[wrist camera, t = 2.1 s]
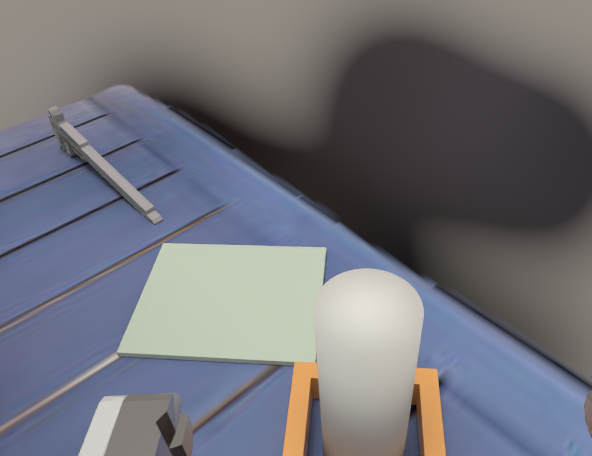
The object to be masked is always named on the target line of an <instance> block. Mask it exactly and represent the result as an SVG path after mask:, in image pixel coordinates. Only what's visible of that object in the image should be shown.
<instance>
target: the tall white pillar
mask: <svg viewBox="0 0 592 456" xmlns="http://www.w3.org/2000/svg"><path fill="white" fill-rule="evenodd" d="M313 312H314V326H315V340H316V355H317V369H318V383H319V397H320V411H321V425H322V440H323V454H324V456H404V450H405V443H406V436H407V429H408V423H409V416H410V409H411V402H412V395H413V388H414V381H415V374H416V367H417V360H418V353H419V346H420V339H421V332H422V325H423V318H424V309H423V304H422V301H421V298H420V297H419V295H418V293H417V292H416V290H415V289H414V288H413V287H412V286H411V285H410V284H409V283H408V282H406V281H405V280H404V279H402V278H400V277H398V276H396V275H394V274H392V273H389V272H386V271H382V270H377V269H355V270H350V271H347V272H343V273H341V274H339V275H336V276H335V277H333V278H331V279H330V280H329V281H327V282H326V283H325V284H324V285H323V286H322V287H321V289H320V290H319V292H318V293H317V295H316V298H315V301H314V309H313Z"/></svg>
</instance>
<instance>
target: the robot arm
mask: <svg viewBox="0 0 592 456" xmlns="http://www.w3.org/2000/svg"><path fill="white" fill-rule="evenodd" d="M591 380H592V378H591ZM181 408H182V401H181V399H180V397H179V395H178V393H170V394H143V395H118V396H104V398H103V399H102V400H101V401H100V403H99V404H98V406H97V409H96V411H95V414H94V416H93V419H92V421H91V424H90V427H89V429H88V432H87V434H86V437H85V439H84V442H83V444H82V447H81V449H80V452H79V455H78V456H191V454H192V446H193V432H192V426H191V422H190V420H189V417H188V416H187V415H185V414H184V413H182V412H181ZM584 410H585V420H586V423H587V427H588V430H589V433H590V435H591V437H592V391H591V392H589V393H588V394H587V395H586V400H585V404H584Z"/></svg>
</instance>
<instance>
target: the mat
mask: <svg viewBox="0 0 592 456" xmlns="http://www.w3.org/2000/svg"><path fill="white" fill-rule="evenodd" d="M325 261H326V248H323V247H286V246H248V245H211V244H173V243H163V245H162V248H161V250H160V252H159V255H158V257H157V259H156V262H155V264H154V266H153V269H152V271H151V273H150V276H149V278H148V280H147V283H146V285H145V287H144V290H143V292H142V294H141V297H140V299H139V301H138V304H137V306H136V308H135V311H134V313H133V315H132V318H131V320H130V322H129V325H128V327H127V329H126V332H125V334H124V336H123V339H122V341H121V343H120V346H119V348H118V350H117V354H118V356H122V357H140V358H159V359H177V360H195V361H213V362H231V363H249V364H268V365H286V366H294V363H295V361H296V362H315V363H316V356H317V355H316V340H315V326H314V312H313V309H314V301H315V298H316V295H317V293H318V292H319V290H320V289H321V287H322V286H323V282H324V272H325Z"/></svg>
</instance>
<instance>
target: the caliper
mask: <svg viewBox="0 0 592 456" xmlns="http://www.w3.org/2000/svg"><path fill="white" fill-rule="evenodd" d="M48 111H49V114H50V115H48V116H49V119H50V123H51V126H52V129H53V131H54V133H55V136H56V138H57V141H58V143H59V145H60V148H61V149H62V151H63V152H65V151H67V153H68V156H69V157H70V158H71V157H73V156H75V155H77V156H79V157H80V158H81V159H82V160H83V162H88V163H89V164H90V165H91V166H92V167H93V168H94V169H95V170H96V171H97V172H98V173H99V174H100V175H101V176H103V177H104V178H105V179H106V180H107V181H108V182H109V183H110V184H111V185H112V186H113V187H114V188H115V189H116V190H117V191H118V192H119V193H120V194H121V195H122V196H123V197H124V198H125V199H126V200H127V201H128V202H129V203H130V204H131V205H132V206H133V207H134V208H135V209H136V210H137V211H138V212H139V213H140V214H142V215H143V216H144V217H145V218H147V219H149V220H150V221H151V222H152V223H153V224H154V225H155V224H157V223H158V222H160V221H162V220H163V218H162V217H161V215H159V214H158V213H157V212H156V211H155V208H154V206H153V205H152V204H151V203H150V202H149V201H148V200H147V199H146V198H145V197H144V196H143V195H141V194H140V193H139V192H138V191H137V190H136V189H135V188H134V187H133V186H132V185H131V184H130V183H129V182H128V181H127V180H126V179H125V178H124V177H123V176H122V175H120V174H119V173H118V172H117V171H116V170H115V169H114V168H113V167H112V166H111V165H110V164H109V163H108V162H107V161H106V160H105V159H104V158H103V157H102V156H100V155H99V154H98V153H97V152H96V151H95V150H94V149H93V148H92V147H91V146H90V145H89V143H88V141H87V140H86V139H85V138H84V137H83V136H82V135H81V134H80V133H79V132H78V131H77V130H76V129H74V128H73V127H72V126H71V125H70V124H69V123H68V122H67V121H65V119H64V116H63V112H62V111H61V112H59V110H58V108H57V106H55V107H52V108H50V109H48Z"/></svg>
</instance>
